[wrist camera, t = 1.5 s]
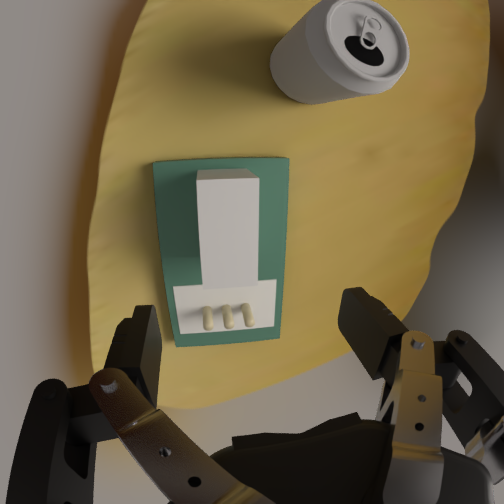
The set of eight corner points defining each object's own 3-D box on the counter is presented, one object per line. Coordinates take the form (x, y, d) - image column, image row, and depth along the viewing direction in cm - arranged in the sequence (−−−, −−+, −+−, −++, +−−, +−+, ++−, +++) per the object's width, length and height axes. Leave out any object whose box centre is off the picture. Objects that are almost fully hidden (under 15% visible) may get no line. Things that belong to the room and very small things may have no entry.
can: (258, 91, 23) (302, 61, 12) (278, 26, 21) (327, -31, 10) (331, 115, 25) (409, 112, 14) (347, 53, 22) (423, 24, 12)
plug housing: (197, 169, 24) (196, 180, 18) (246, 168, 24) (259, 178, 19) (202, 257, 27) (203, 289, 21) (246, 254, 28) (257, 285, 22)
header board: (155, 161, 24) (146, 166, 20) (284, 157, 26) (300, 161, 22) (176, 338, 32) (175, 365, 28) (276, 330, 34) (286, 355, 30)
